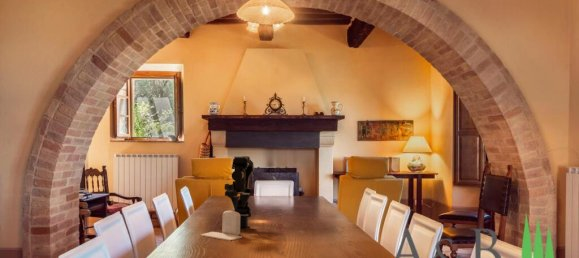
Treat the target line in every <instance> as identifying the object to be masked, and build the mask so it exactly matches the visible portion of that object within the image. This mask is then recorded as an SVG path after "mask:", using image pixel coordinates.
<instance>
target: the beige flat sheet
mask: <svg viewBox="0 0 579 258" xmlns="http://www.w3.org/2000/svg"><path fill="white" fill-rule="evenodd" d="M200 236H201V237H206V238H212V239H218V240H223V241H229V242H230V241H231V240H232V241H234V240H235V241H236V240H239V239H241V238H242V239H243V236H242V235H231V234H225V233H222V232H219V231H209V232H205V233H201V234H200Z"/></svg>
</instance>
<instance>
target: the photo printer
mask: <svg viewBox="0 0 579 258" xmlns="http://www.w3.org/2000/svg"><path fill="white" fill-rule="evenodd" d="M221 220H222V221H221V222H222V224H221V226H222V227H221V228H222V229H221V233H224V234H231V235H237V236H240V234H241V228H240V214H239V213H238V212H236V211H235V210H226V211H225V210H224V212H222V219H221Z"/></svg>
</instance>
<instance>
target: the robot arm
mask: <svg viewBox="0 0 579 258" xmlns="http://www.w3.org/2000/svg"><path fill="white" fill-rule="evenodd" d="M254 167H255V166H254V162H253V160H251V158H250V156H248V155H242V156H234V157H233V158H232V164H231V170H233V171H232V173H231V179H232V180H233V181H232V183H231V184H230V183H225V184H224V188H223V189H224V190H225V192H224V197H227V198H230V200H231V203H232V205H233V208H234V211H236V212H238V213H239V214H240V229H247V228H250V227H251V225H249V218H250V217H251V218H252V209H251V206H250V204H249V199H250V197H251V196H252V194H255V190H254V188H252V187H249V184H250V179H251V178H252V176H253V173H254V172H255V168H254ZM238 195H239V196H238Z"/></svg>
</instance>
